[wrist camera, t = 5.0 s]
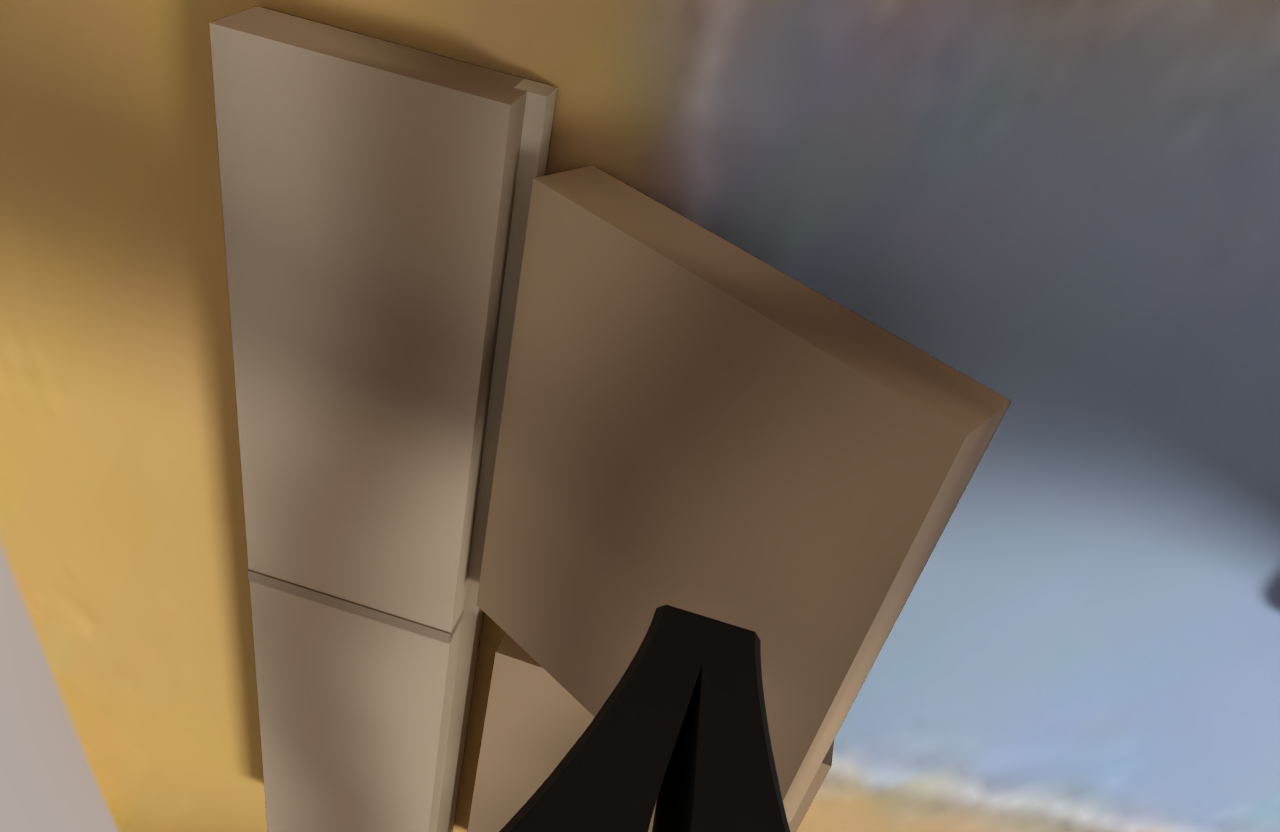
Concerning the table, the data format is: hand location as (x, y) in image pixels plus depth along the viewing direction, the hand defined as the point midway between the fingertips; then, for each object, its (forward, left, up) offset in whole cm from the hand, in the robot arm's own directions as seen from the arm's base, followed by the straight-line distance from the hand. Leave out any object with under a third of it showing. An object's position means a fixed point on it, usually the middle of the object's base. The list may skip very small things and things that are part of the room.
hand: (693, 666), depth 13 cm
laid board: (+7, +5, -5) cm, 10 cm away
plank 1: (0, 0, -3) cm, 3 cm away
